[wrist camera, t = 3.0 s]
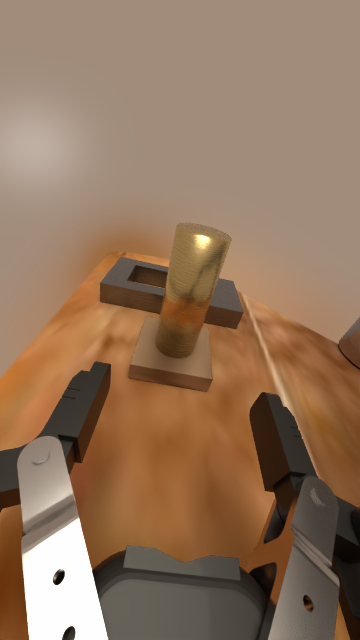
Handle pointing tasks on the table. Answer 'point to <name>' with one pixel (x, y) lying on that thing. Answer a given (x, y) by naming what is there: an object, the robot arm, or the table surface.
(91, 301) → the table surface
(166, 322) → the peg
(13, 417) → the table surface
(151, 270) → the rack plate
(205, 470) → the table surface
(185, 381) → the pad
